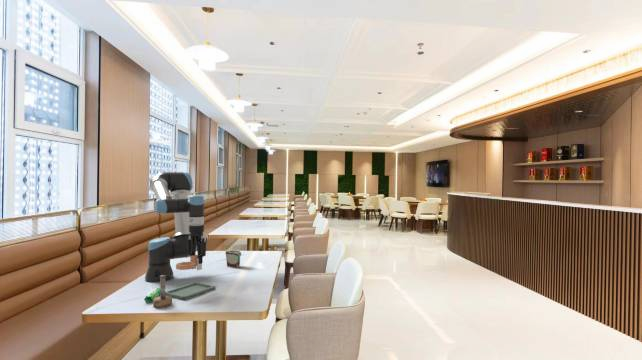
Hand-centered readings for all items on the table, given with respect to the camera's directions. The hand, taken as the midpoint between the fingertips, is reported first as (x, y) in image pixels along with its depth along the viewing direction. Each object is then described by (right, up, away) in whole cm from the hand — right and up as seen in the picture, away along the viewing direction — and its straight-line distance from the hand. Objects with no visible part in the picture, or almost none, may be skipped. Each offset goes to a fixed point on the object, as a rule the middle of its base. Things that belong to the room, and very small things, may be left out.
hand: (196, 269), depth 187 cm
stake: (-8, -11, -22) cm, 26 cm away
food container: (+8, -11, +49) cm, 51 cm away
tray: (-2, -11, -3) cm, 12 cm away
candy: (-17, -12, -13) cm, 24 cm away
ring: (-2, +2, -4) cm, 5 cm away
